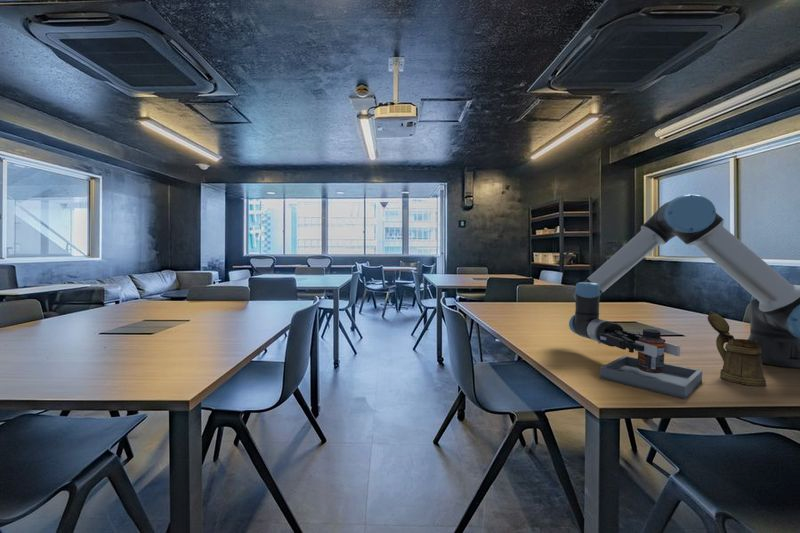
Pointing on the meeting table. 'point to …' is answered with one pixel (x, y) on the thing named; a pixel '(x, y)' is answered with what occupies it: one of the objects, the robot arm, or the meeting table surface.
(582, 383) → the meeting table surface
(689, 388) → the grey tray
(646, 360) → the supplement bottle
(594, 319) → the robot arm
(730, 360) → the wooden mug
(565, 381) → the meeting table surface
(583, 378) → the meeting table surface
